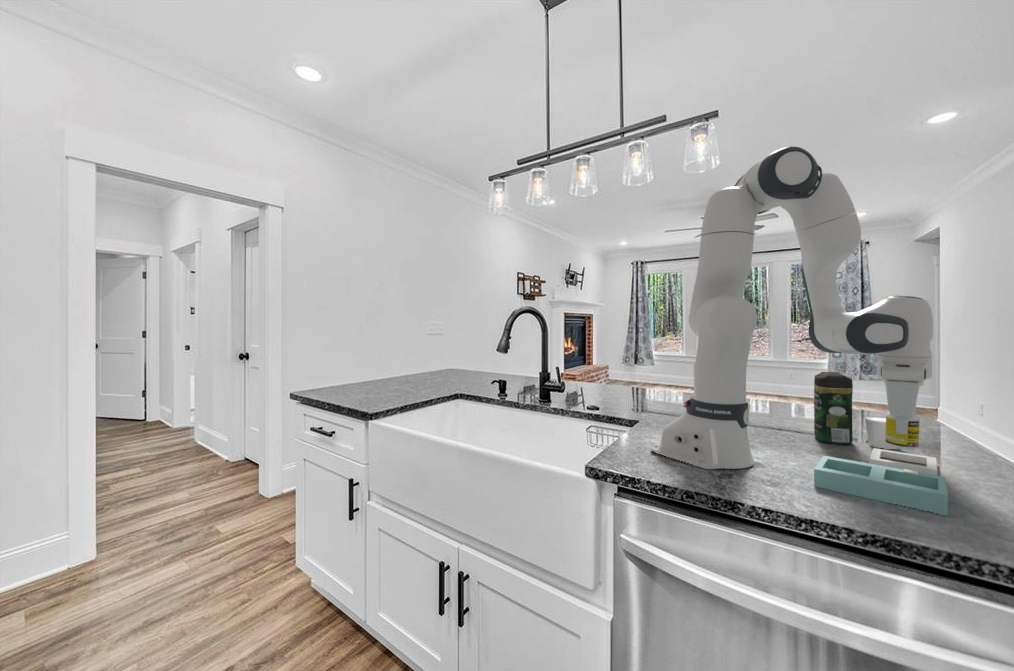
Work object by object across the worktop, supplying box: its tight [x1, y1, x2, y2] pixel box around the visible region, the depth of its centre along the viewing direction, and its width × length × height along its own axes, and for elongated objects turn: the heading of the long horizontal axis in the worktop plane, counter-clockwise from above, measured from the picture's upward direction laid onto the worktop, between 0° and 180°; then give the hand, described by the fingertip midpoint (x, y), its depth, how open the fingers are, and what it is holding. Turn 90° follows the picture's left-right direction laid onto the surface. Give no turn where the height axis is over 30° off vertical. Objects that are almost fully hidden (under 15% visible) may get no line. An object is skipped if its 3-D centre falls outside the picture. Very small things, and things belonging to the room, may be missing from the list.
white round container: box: [865, 416, 899, 450], centre depth 105 cm, size 7×7×7 cm
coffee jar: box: [813, 371, 854, 446], centre depth 110 cm, size 10×8×19 cm
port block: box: [813, 455, 949, 517], centre depth 78 cm, size 18×11×4 cm, turn 45°
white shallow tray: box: [868, 447, 938, 476], centre depth 92 cm, size 10×10×2 cm
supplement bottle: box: [885, 408, 921, 451], centre depth 91 cm, size 5×5×10 cm
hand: (902, 430), depth 91 cm, fingers closed on supplement bottle, 5 cm apart
